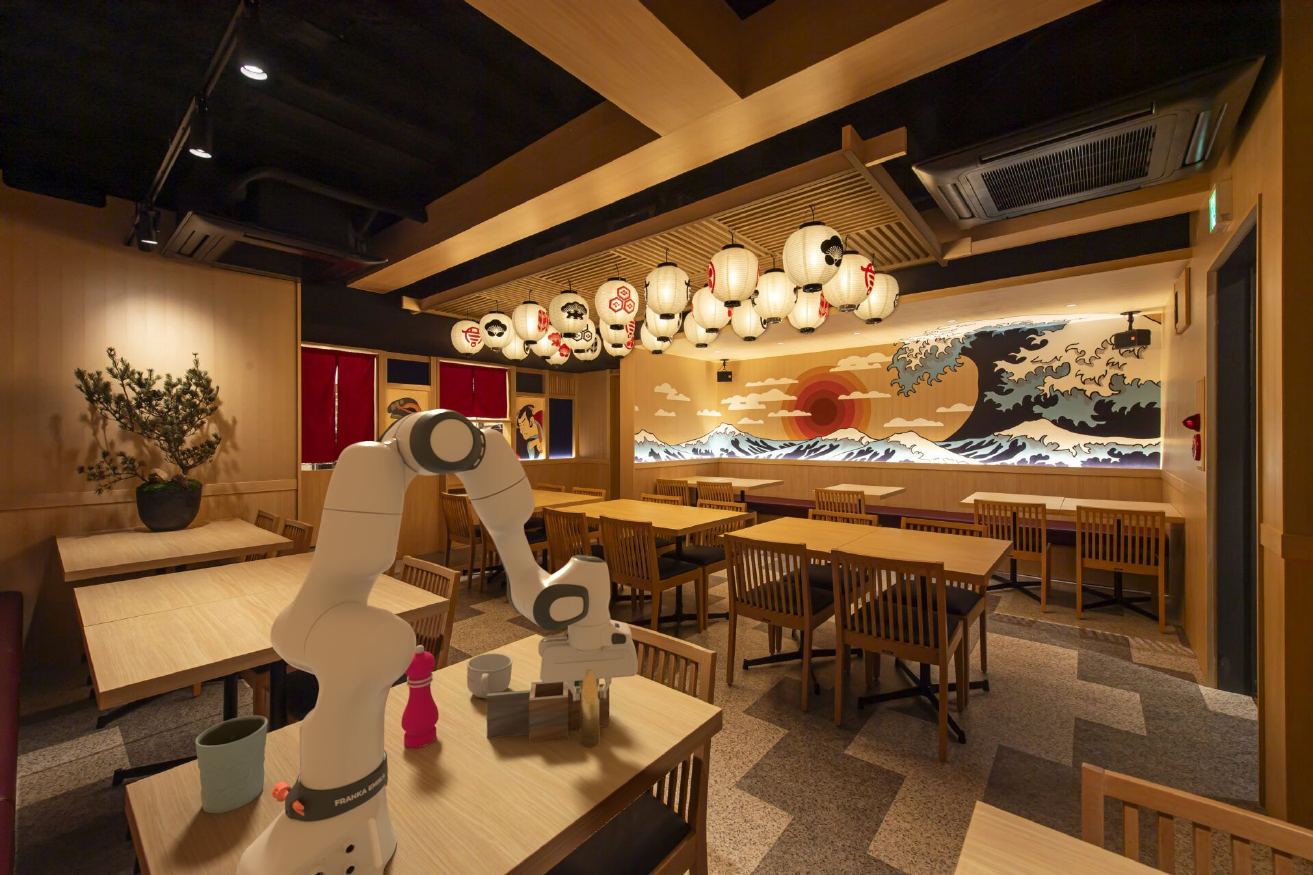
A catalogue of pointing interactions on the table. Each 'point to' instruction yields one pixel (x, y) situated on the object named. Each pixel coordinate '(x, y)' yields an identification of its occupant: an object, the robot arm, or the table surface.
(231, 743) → the green oval vase
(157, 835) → the table surface
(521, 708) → the brown winged open box
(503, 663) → the teacup
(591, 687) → the brass pin
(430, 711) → the pepper mill
